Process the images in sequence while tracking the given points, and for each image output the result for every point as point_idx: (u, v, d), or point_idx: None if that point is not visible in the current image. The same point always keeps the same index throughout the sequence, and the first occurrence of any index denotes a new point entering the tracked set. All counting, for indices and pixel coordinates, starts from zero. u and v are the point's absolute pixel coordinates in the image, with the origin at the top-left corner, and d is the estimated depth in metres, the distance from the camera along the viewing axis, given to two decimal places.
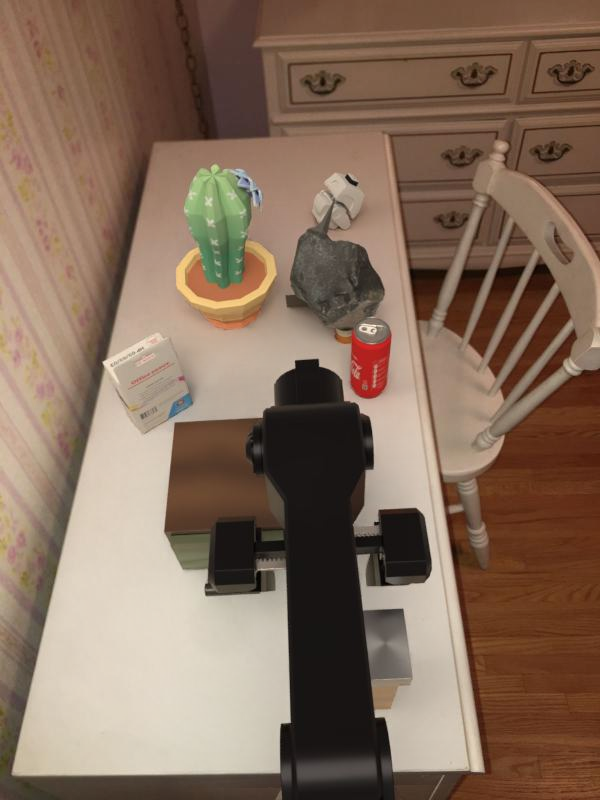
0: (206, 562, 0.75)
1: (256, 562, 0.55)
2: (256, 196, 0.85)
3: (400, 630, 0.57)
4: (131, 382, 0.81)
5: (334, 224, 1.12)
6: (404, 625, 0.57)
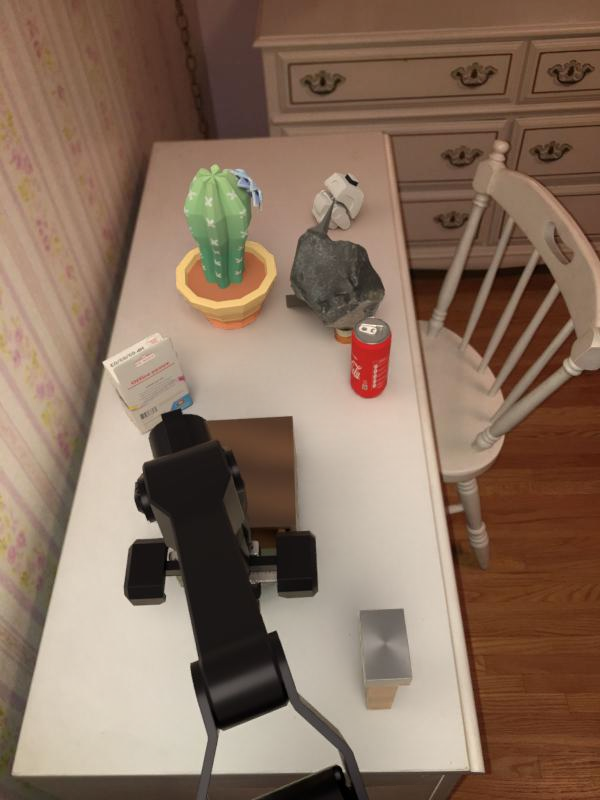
0: None
1: None
2: (256, 196, 0.85)
3: (400, 630, 0.57)
4: (131, 382, 0.81)
5: (334, 224, 1.12)
6: (404, 625, 0.57)
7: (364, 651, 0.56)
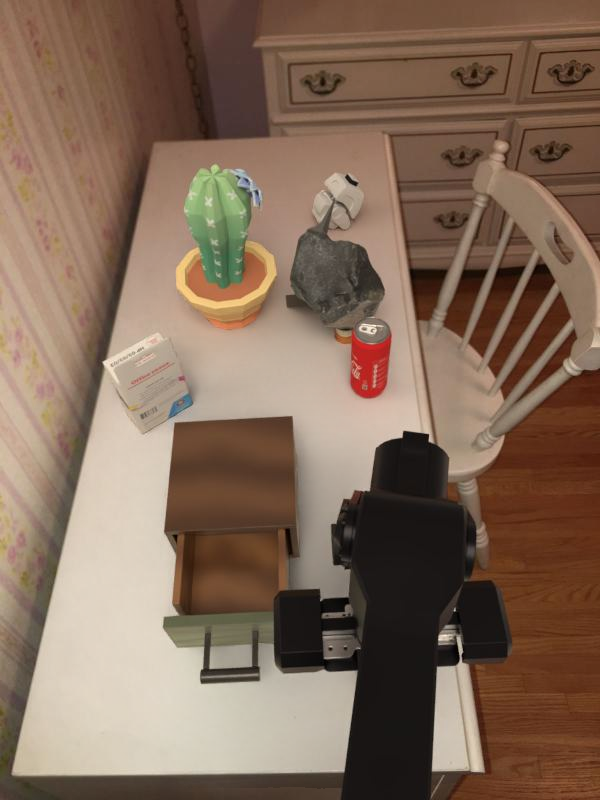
0: (202, 641, 0.70)
1: (354, 639, 0.51)
2: (256, 196, 0.85)
3: None
4: (131, 382, 0.81)
5: (334, 224, 1.12)
6: None
7: None
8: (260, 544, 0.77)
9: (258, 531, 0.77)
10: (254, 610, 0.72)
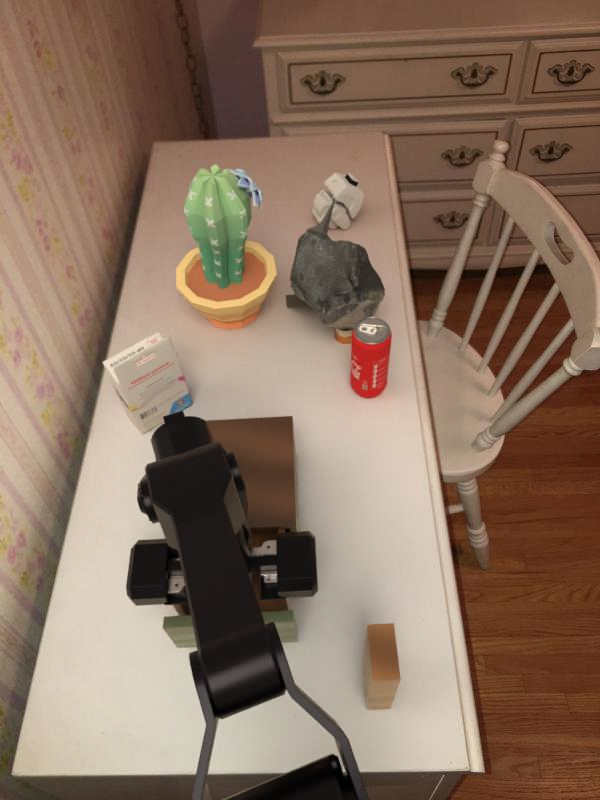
0: None
1: (184, 578, 0.64)
2: (256, 196, 0.85)
3: None
4: (131, 382, 0.81)
5: (334, 224, 1.12)
6: (251, 580, 0.72)
7: None
8: (260, 544, 0.77)
9: (258, 531, 0.77)
10: None
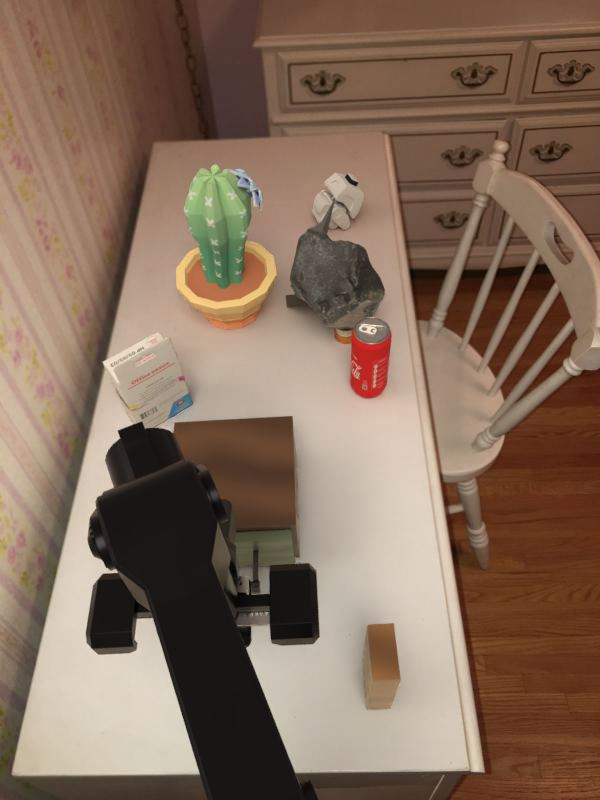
0: None
1: None
2: (256, 196, 0.85)
3: None
4: (131, 382, 0.81)
5: (334, 224, 1.12)
6: None
7: None
8: None
9: None
10: None
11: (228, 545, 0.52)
